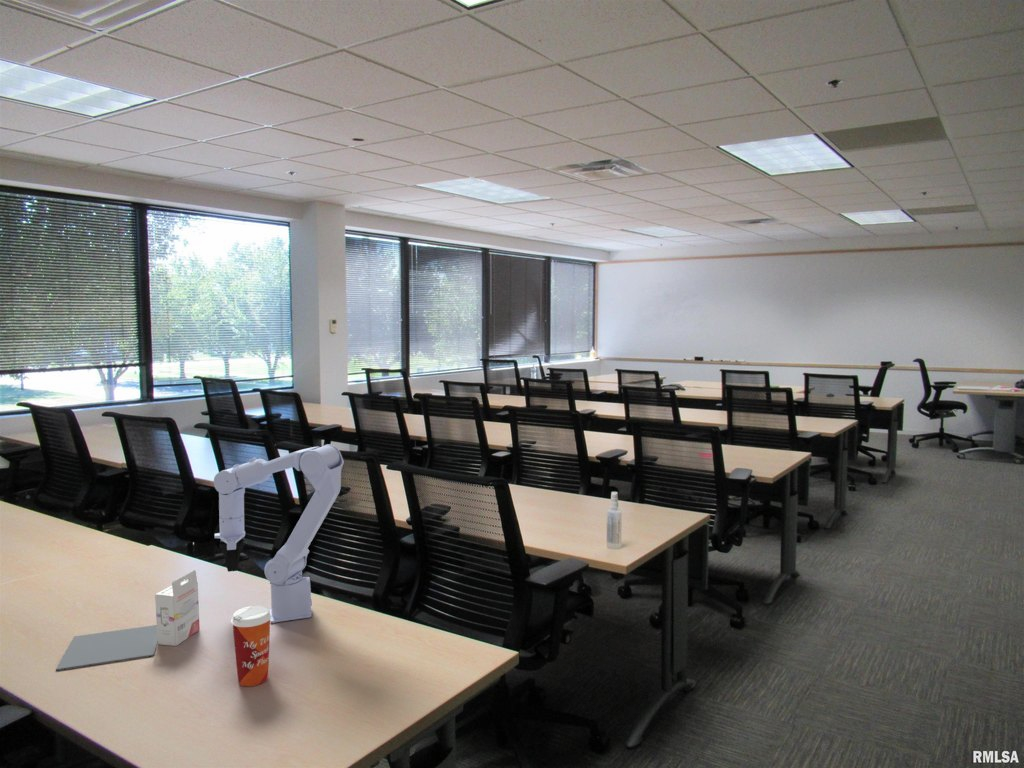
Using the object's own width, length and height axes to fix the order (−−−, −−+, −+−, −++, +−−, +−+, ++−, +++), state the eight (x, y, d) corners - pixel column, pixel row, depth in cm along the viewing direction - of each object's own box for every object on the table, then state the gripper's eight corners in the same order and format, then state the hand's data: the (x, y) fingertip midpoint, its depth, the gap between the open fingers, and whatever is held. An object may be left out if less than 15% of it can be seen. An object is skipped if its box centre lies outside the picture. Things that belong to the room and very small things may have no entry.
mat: (162, 625, 161) (162, 624, 161) (153, 656, 146) (153, 654, 146) (74, 638, 155) (74, 636, 155) (55, 671, 140) (55, 669, 140)
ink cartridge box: (181, 628, 160) (179, 567, 159) (200, 630, 159) (198, 569, 158) (156, 644, 152) (153, 580, 150) (175, 646, 151) (173, 582, 150)
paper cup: (249, 693, 132) (247, 623, 130) (224, 682, 136) (222, 614, 135) (282, 676, 138) (280, 609, 137) (257, 666, 142) (255, 601, 141)
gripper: (215, 509, 174) (216, 561, 175) (212, 525, 161) (213, 581, 162) (245, 507, 177) (245, 558, 178) (244, 523, 163) (245, 577, 164)
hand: (232, 569), depth 170 cm, fingers closed
